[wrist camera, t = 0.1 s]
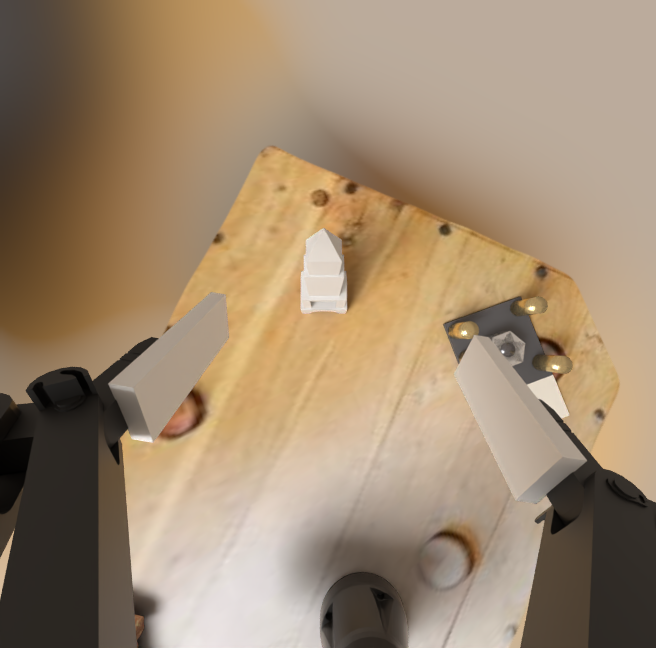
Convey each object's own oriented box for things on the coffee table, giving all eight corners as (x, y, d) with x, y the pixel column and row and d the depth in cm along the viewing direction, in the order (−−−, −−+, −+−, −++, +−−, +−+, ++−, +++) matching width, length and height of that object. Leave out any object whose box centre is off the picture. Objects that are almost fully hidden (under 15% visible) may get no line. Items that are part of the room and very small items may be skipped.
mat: (566, 414, 49) (569, 415, 49) (489, 443, 49) (491, 445, 48) (518, 297, 51) (520, 296, 50) (443, 324, 50) (444, 324, 50)
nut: (522, 349, 49) (533, 349, 47) (503, 373, 49) (513, 374, 46) (493, 325, 50) (503, 324, 47) (474, 349, 49) (483, 349, 47)
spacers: (549, 367, 49) (575, 370, 44) (472, 396, 49) (489, 402, 44) (521, 298, 50) (543, 294, 45) (445, 326, 50) (459, 324, 45)
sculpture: (302, 278, 51) (270, 186, 21) (345, 278, 51) (374, 186, 21) (302, 313, 50) (269, 270, 20) (345, 313, 50) (375, 270, 20)
